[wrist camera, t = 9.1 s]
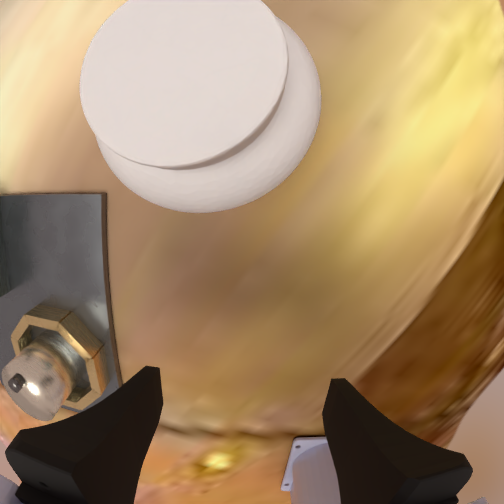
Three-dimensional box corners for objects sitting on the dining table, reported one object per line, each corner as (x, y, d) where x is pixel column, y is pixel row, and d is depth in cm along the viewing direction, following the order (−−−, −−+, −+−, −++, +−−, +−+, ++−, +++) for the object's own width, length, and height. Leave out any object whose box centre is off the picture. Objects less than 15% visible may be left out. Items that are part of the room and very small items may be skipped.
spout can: (93, 382, 22) (58, 436, 16) (48, 372, 22) (9, 418, 15) (80, 331, 21) (34, 382, 14) (34, 323, 21) (-15, 365, 14)
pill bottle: (310, 116, 18) (410, 29, 5) (249, 215, 20) (242, 303, 7) (207, 60, 17) (146, -78, 4) (148, 157, 19) (-5, 149, 6)
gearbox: (129, 419, 24) (110, 463, 19) (5, 381, 24) (-22, 409, 18) (106, 193, 19) (59, 203, 14) (-31, 196, 19) (-75, 206, 13)
